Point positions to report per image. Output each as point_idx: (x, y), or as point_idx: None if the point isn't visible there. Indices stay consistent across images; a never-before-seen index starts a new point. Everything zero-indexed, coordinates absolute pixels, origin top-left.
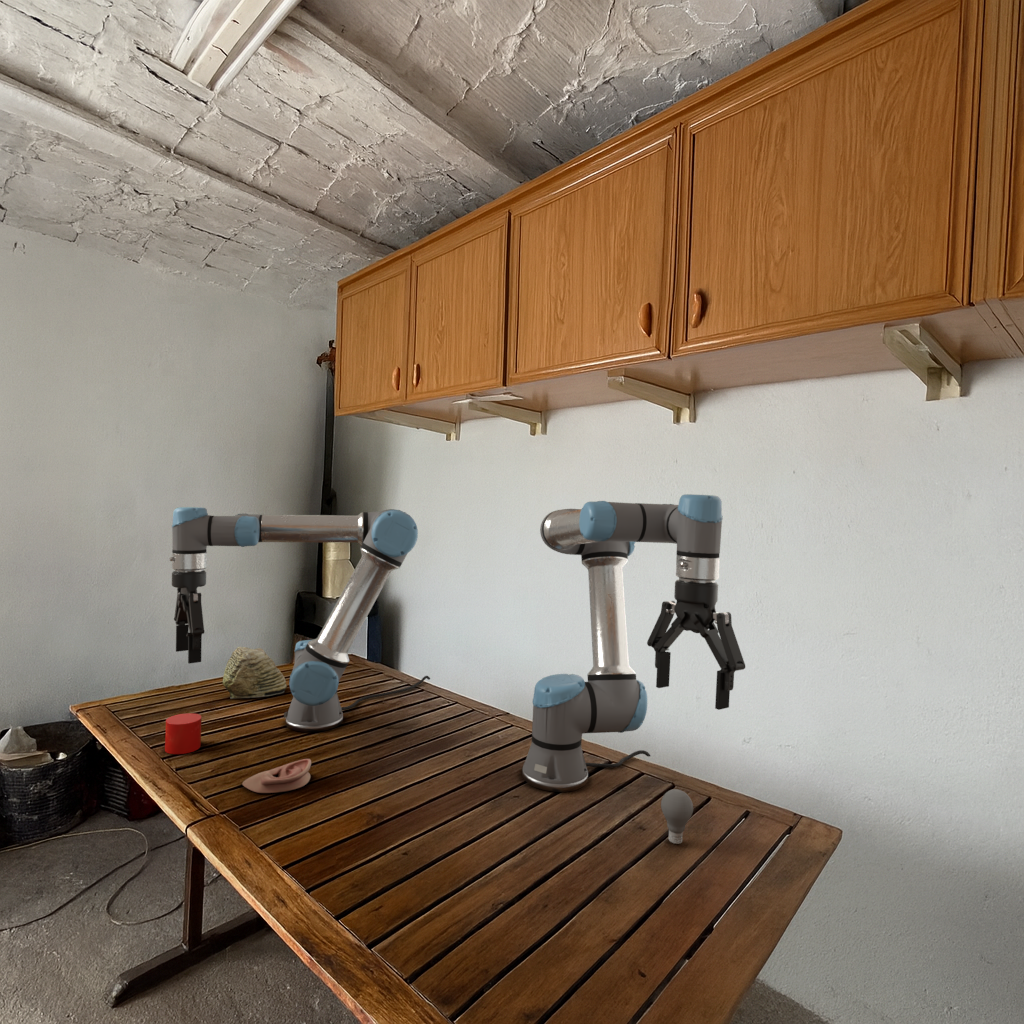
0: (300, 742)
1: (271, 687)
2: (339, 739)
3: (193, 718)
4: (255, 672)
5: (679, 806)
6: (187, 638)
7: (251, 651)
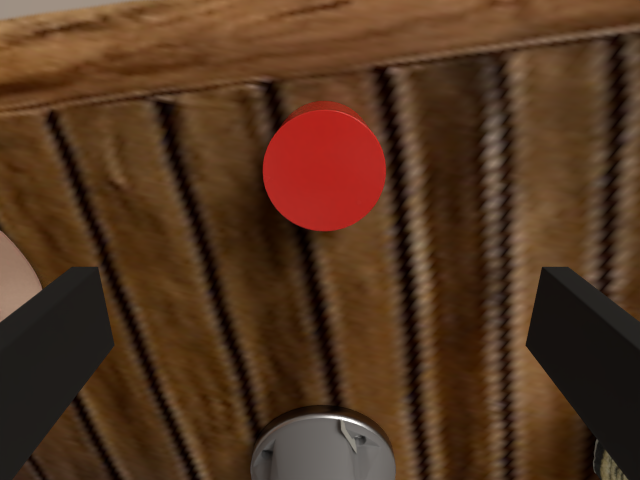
0: (209, 397)
1: (611, 465)
2: (187, 462)
3: (307, 202)
4: None
5: None
6: (582, 413)
7: None
